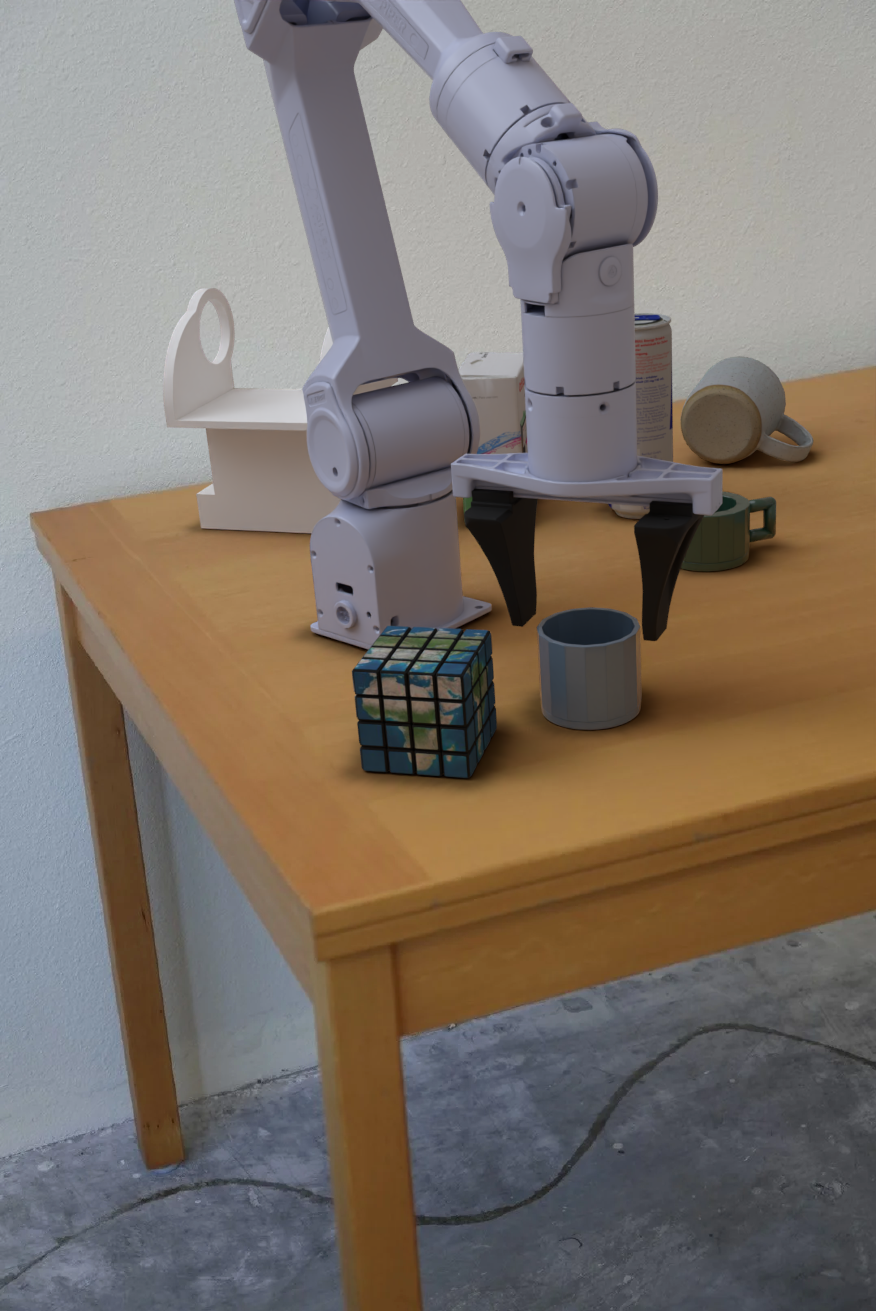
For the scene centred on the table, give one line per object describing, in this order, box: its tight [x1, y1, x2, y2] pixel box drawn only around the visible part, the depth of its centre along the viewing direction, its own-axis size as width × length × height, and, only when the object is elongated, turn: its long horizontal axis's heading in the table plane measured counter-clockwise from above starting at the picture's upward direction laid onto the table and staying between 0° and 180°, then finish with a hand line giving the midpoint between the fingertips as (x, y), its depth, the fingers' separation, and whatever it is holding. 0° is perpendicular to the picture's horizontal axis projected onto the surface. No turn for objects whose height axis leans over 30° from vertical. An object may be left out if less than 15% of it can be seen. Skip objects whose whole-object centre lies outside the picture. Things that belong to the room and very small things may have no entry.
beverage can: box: [607, 312, 674, 520], centre depth 112 cm, size 5×5×15 cm
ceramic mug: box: [680, 356, 814, 465], centre depth 125 cm, size 11×8×8 cm
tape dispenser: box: [162, 287, 399, 534], centre depth 116 cm, size 14×13×18 cm
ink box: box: [458, 351, 528, 523], centre depth 115 cm, size 8×5×12 cm, turn 171°
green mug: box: [680, 490, 777, 572], centre depth 104 cm, size 8×6×4 cm
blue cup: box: [536, 606, 643, 731], centre depth 82 cm, size 6×6×5 cm
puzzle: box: [351, 626, 498, 779], centre depth 79 cm, size 6×6×6 cm
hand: (588, 626), depth 81 cm, fingers open, 7 cm apart
